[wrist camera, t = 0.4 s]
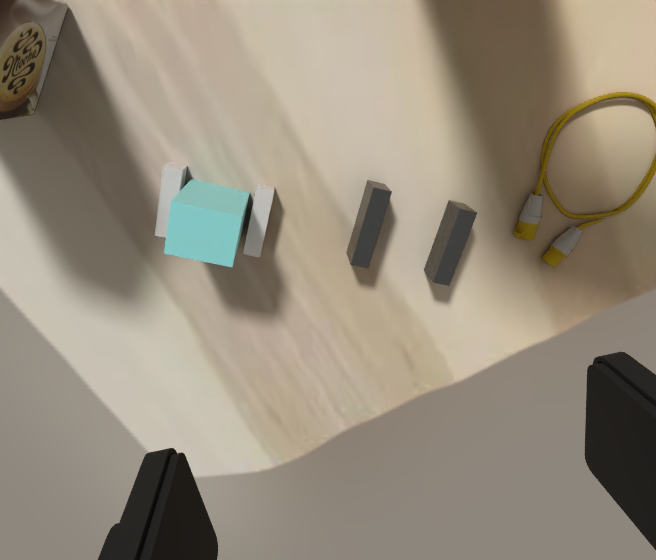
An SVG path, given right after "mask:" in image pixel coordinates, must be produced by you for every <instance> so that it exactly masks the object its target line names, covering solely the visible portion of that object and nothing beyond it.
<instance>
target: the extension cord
mask: <svg viewBox="0 0 656 560" xmlns="http://www.w3.org/2000/svg"><path fill="white" fill-rule="evenodd" d="M615 97H632V98H637V99H639V100H641V101H642V102H643V103H644V104H646V106H647V107H648V108H649V110H650V112H651V113H652V116H653V119H654V121H655V125H656V104H655V103H654V102H653V101H652V100H650V99H649V98H647V97H645V96H642V95H639V94H635V93H628V92H617V93H611V94H606V95H603V96H599V97H597V98H594V99H591V100H589V101H587V102H584V103H582V104H580V105H578V106H576V107H574V108H572V109H570V110H568V111H567V112H565V113H564V114H563V115H562V116H561V117H560V118H558V119H557V121H556V122H555V123H554V124H553V126H552V127H551V129H550V130H549V132H548V134H547V136H546V139H545V141H544V144H543V148H542V154H541V173H540V177H539V180H538V184H537V188H536V191H535V193H530V196H529V197H528V199H527V201H526V203H525V205H524V207H523V209H522V212H521V214H520V217H519V221H518V225H517V228H516V230H515V231H514V233H513V234H515V237H518V238H520V239H524V240H534V237H535V234H536V231H537V227H538V224H539V221H540V218H541V212H542V201H543V195H541V194H539V192H540V188H541V184H542V181H544V185H545V187H546V190H547V192H548V194H549V196H550V197H551V199H552V201H553V202H554V204H555V205H556V206H557V208H558V209H559V210H560V211H561V212H562V213H563V214H564V215H566V216H568V217H571V218H576V219H584V218H595V217H603V216H609V215H614V214H618V213H620V212H622V211H624V210H626V209H627V208H628V207H629V206H631V205H632V204H633V203H634V202H635V201H636V200H637V199H638V198H639V197H640V195H641V194H642V193H643V192H644V190H645V189H646V187H647V186H648V184H649V183H650V181H651V179H652V178H653V176H654V174H655V172H656V155H655V158H654V160H653V163H652V165H651V167H650V169H649V171H648V173H647V174H646V176H645V178H644V179H643V181H642V182H641V184H640V185H639V187H638V188H637V190H636V191H635V193H634V194H633V196H632V197H631V198H630V199H629V200H628V201H627V202H626V203H625V204H623V205H621V206H620V207H618V208H617V209H615V210H613V211H612V212H606V213H599V214H590V215H574V214H570V213H568V212H567V211H565V210H564V209H563V207H562V206H561V205H560V204H559V202H558V201H557V199H556V198H555V196H554V194H553V193H552V191H551V188H550V186H549V183H548V180H547V177H546V172H545V170H546V166H547V162H548V159H549V156H550V153H551V150H552V147H553V144H554V142H555V139H556V137H557V135H558V133H559V131H560V129H561V128H562V127H563V125H564V124H565V123H566V122H567V120H568V119H569V118H571V117H572V116H573V115H574V114H576V113H577V112H579V111H580V110H582V109H584V108H586V107H587V106H589V105H591V104H594V103H596V102H599V101H602V100H605V99H609V98H615ZM560 122H561V123H560ZM559 123H560V124H559ZM558 124H559V125H558ZM557 125H558V127H557V128H556V126H557ZM555 128H556V130H555V132H554V134H553V136H552V138H551V141H550V143H549V146H548V149H547V152H546V148H547V144H548V141H549V139H550V137H551V134H552V133H553V131H554V129H555ZM545 153H546V155H545ZM604 219H605V218H600V219H596V220H592V221H590V222H587V223H584V224H582V225H580V226H578V227H577V228H576V227H575V226H571V228H569V229H568V230H567V231H565V232H564V233H563V234H562V235H560V236H559V237H558V238H557V239H555V241H554V242H553V243H552V244H551V245H550V247H551V248H550V249H549V250H548V251H547V252H546V253H545V255H544V256H543V257H542V258H541V259H542V260H544V261H545V262H547V263H548V264H549V265H551V266H552V267H554V268H555V267H556V266H557V265H558V263H559V262H560V261H561V260H562V259H563V258H564V257H565V258H566V257H567V255H568V254H569V253H570V252H571V251H573V250H572V249H573V248H574V246H575V244H576V243H577V241H578V240H579V238H580V236H581V234H582V233H583V232H582V231H581V230H580V229H582V228H584V227H586V226H589V225H592V224H594V223H597V222H599V221H602V220H604Z"/></svg>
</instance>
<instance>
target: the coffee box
mask: <svg viewBox="0 0 656 560" xmlns="http://www.w3.org/2000/svg"><path fill="white" fill-rule="evenodd" d="M67 8H68V5H67V4H66V3H65V2H63V1H61V0H0V120H2V119H9V118H14V117H20V116H28V115H33V114H34V111H35V108H36V105H37V102H38V99H39V96H40V93H41V90H42V86H43V83H44V80H45V77H46V74H47V71H48V67H49V64H50V61H51V58H52V55H53V52H54V49H55V45H56V42H57V39H58V36H59V33H60V30H61V27H62V23H63V20H64V17H65V14H66V11H67Z"/></svg>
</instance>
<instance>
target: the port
mask: <svg viewBox="0 0 656 560" xmlns="http://www.w3.org/2000/svg"><path fill="white" fill-rule="evenodd" d="M391 193H392V191H391V190H390V189H389V188H388V187H387V186H386V185H385V184H382V183H378V182H374V181H370V180H368V181H367V184H366V187H365V191H364V194H363V198H362V201H361V205H360V208H359V212H358V215H357V219H356V222H355V226H354V229H353V232H352V236H351V239H350V243H349V246H348V250H347V256H348V258H349V261H350V264H351V265H355V266H360V267H365V268H368V267H369V263H370V260H371V257H372V254H373V251H374V247H375V244H376V241H377V238H378V234H379V231H380V228H381V225H382V222H383V218H384V215H385V212H386V209H387V206H388V202H389V199H390V196H391ZM476 215H477V212H475V211H474V210H473V209H471V208H470V207H468V206H467V205H465V204H462V203H458V202H454V201H450V200H449V202H448V204H447V207H446V210H445V213H444V216H443V218H442V221H441V224H440V227H439V229H438V232H437V235H436V238H435V241H434V243H433V246H432V249H431V252H430V255H429V257H428V260H427V263H426V266H425V268H424V271H425V272H426V273H427V275H428V276H429V277H430V279H431V280H432V282H434V283H439V284H444V285H448V286H449V285H450V282H451V280H452V277H453V275H454V272H455V269H456V267H457V264H458V262H459V259H460V256H461V254H462V251H463V249H464V246H465V243H466V241H467V238H468V236H469V233H470V230H471V228H472V225H473V223H474V220H475V217H476Z"/></svg>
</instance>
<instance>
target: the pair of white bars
mask: <svg viewBox="0 0 656 560" xmlns="http://www.w3.org/2000/svg"><path fill="white" fill-rule="evenodd" d="M186 172H187V166H186V165H181V164H177V163H173V162H168V163H166V164H165V165H164V166H163V174H162V181H161V189H160V197H159V205H158V213H157V221H156V229H155V236H159V237H164V238H166V234H167V226H168V219H169V212H170V204H171V200H172V199H173V198H174V197H175V196H176V195H177V194H178V193H179V192H180V191H181V190H182V189H183V188H184V185H185V178H186ZM274 189H275V187H274V186H269V185H265V184H261V183H257V187H256V192H255V197H254V202H253V207H252V212H251V217H250V221H249V226H248V231H247V236H246V241H245V246H244V251H243V254H245V255H250V256H254V257H259V258H260V255H261V250H262V246H263V241H264V236H265V232H266V227H267V223H268V218H269V213H270V209H271V204H272V200H273V195H274Z"/></svg>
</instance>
